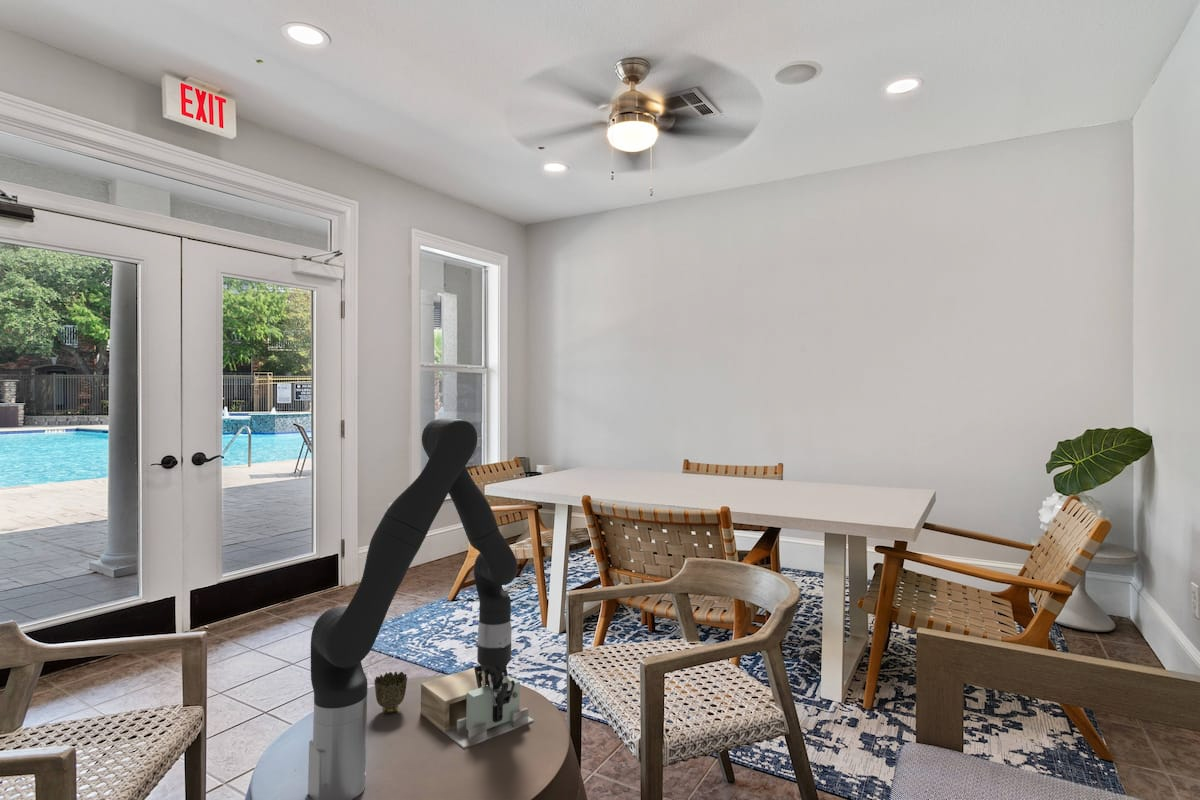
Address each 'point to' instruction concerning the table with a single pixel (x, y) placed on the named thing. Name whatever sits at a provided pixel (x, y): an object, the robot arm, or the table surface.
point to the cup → (390, 691)
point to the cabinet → (461, 709)
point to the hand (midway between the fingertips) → (493, 717)
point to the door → (489, 706)
